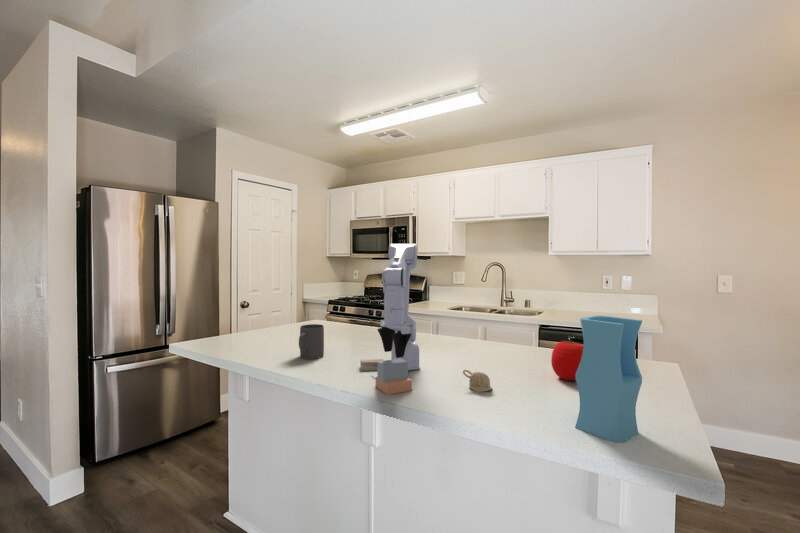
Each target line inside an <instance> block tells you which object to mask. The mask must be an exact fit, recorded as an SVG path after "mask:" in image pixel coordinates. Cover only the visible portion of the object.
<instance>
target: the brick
mask: <svg viewBox="0 0 800 533" xmlns="http://www.w3.org/2000/svg"><path fill="white" fill-rule="evenodd" d="M378 361H385V359H384V358H367V359H365V358H364V359H360V371H377V362H378Z"/></svg>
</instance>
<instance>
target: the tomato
mask: <svg viewBox="0 0 800 533" xmlns="http://www.w3.org/2000/svg"><path fill="white" fill-rule="evenodd" d="M583 349H584V343H583V344H582V343H578V342H575V341H572V340H571V339H568V341H567V340H562V341H560V342H557V344H555V346H554V347H553V348H552V352H551V353H552V354H551V358H550V359H551V361H550V364H551V367H552V369H553V370H552V371H554V374H555V375H556V376H557V377H559V379H560V378H561V379H562V380H564V381H569V382H570V381H571V382H574V381H575V382H576V372H577V369H578V367H579V364H580V361H581V358H582V355H583Z"/></svg>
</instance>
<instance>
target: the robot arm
mask: <svg viewBox="0 0 800 533" xmlns="http://www.w3.org/2000/svg"><path fill="white" fill-rule="evenodd" d="M388 259H389V262H388V263H387V264H388V265H387V267H386V268H385V269H382V274H381V281H382V290H383V291H382V292H383V295H384V296H383V299H384V300H383V301H384V302H383V303H384V304H383V308H384V309H383V310H384V311H383V312H384V313H383V314H384V315H383V316H384V317H383V319H380V321H379V322H380V324H379V326H380V328H377V331H378V333H379V336H380V339H381V342H382V346H383V351H384V352H385V353H387V352H389V353H390V352H391V359H390V360H393V359H403V360H406V361H408V371H413V370H420V369H421V366H420V347H419V345H418V343H417V342H416V340H417V324H416V320H415V318H413V317H412V316H411V315H409V306H410V277H411V272H412V270H414V269H416V268H417V264H418V245H417V244H416V243H390V244H389V245H388Z"/></svg>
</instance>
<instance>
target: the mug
mask: <svg viewBox="0 0 800 533" xmlns="http://www.w3.org/2000/svg"><path fill="white" fill-rule="evenodd" d="M324 346H325V327H324V325H323V324H318V323H311V324H303V325H301V326H300V329H299V338H298V348H299V356H300V358H301V359H304V360H317V359H321V358H323V357H324V355H325V347H324Z"/></svg>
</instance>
